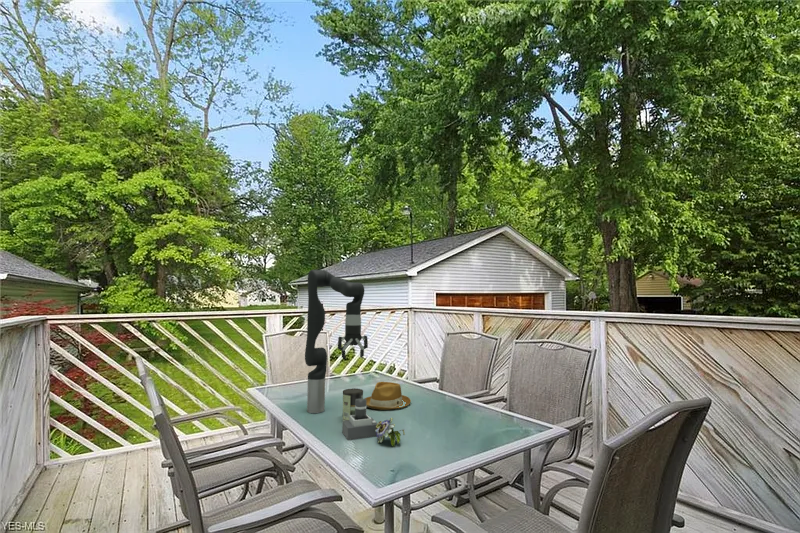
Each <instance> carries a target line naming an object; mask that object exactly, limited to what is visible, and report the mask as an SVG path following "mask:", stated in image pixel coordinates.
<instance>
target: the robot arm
mask: <svg viewBox="0 0 800 533" xmlns="http://www.w3.org/2000/svg"><path fill="white" fill-rule="evenodd" d="M324 287H330V288H331V290H332V291H334V292H337V293H340V294H341V295H343V296H344V297H346V298H352V301H350V302H347V303H346V304H345V320H344V321H345V323H344V324H345V325H344V326H345V327H344V328H345V329H344V336H338V337H337V338H338V339H337V349H338V350H340V351H341V358H343V360H344V359H346V349H347V348H348V347H349V346H350V347H351V346H358V347H359V349H360V350H359V357H360V359H361V358H363V357H364V356H365V349H368V347H369V343H368V336H367V335H362V317H361V316H362V315H361V312H362V310H361V308H362V303H363V299H364V295H365V286H364V284H363V283H361V282H350V281H349V280H348V279H344V278H341V277H337V276H335V275H333V274H332V273H331V272H329V271H327V270H325V269H310V271H309V272H308V275H307V297H308V298H307V302H308V303H307V321H306V323H307V325H306V326H307V327H306V328H307V329H306V342H305V350H304V362H305V365H306V366H308V367H315V368H314V369H313V370H310V371H308V374H307V393H306V394H307V395H306V396H307V401H306V403H307V404H306V412H307V413H309V414H320V413H323V412H325V407H326V405H325V404H326V403H325V402H326V374H327V362H328V354H327V350H326V348H325V347H316V342H317V338H318V337H319V335H320V333H321V332H322V330H323V329H324V326H325V323H326V310H325V308H324V305H323V304H322V302H321V300H320V298H319V296H318V288H324ZM361 340H362V341H363V345H362V342H361ZM344 341H345V343H344V344H343V343H342V342H344Z"/></svg>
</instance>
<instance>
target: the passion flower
mask: <svg viewBox="0 0 800 533" xmlns="http://www.w3.org/2000/svg"><path fill="white" fill-rule="evenodd" d="M393 420H394V418H393V417H390V419H385V420H384V421H382V420H380V421H378V422H377V423H378V424H377V426H376V430H375V431H376V434H377V436H376V438H377V440H378V441H377V443H378V444H380V443H383V442H384V440H385V438H388V439H390V444H391V447H393V448H395V444H396V443H397V445H399V444H400V442H401V436H402V435H401V433H400V432H401V431H402V434H403V436H405V435H406V434H405V429H399V430H394V428H395V426H396V424H395V423H393Z"/></svg>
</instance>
